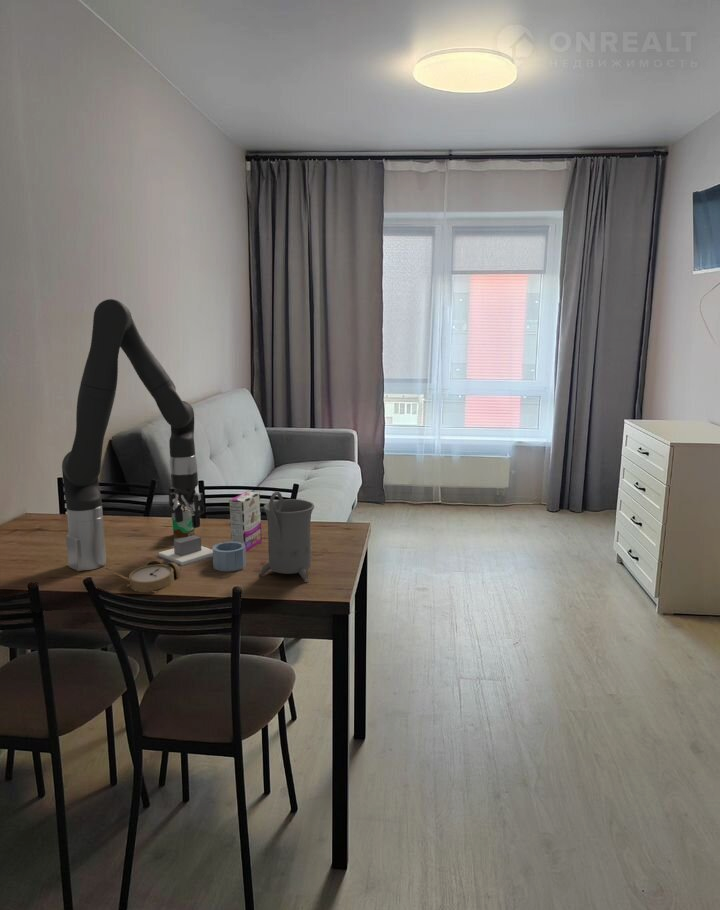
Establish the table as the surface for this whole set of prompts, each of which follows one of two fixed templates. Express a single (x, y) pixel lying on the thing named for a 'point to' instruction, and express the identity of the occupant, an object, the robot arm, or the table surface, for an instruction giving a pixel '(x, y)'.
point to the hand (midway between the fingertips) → (187, 524)
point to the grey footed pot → (288, 535)
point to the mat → (179, 564)
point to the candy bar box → (246, 519)
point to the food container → (183, 525)
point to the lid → (187, 551)
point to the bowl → (229, 556)
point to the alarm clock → (153, 576)
